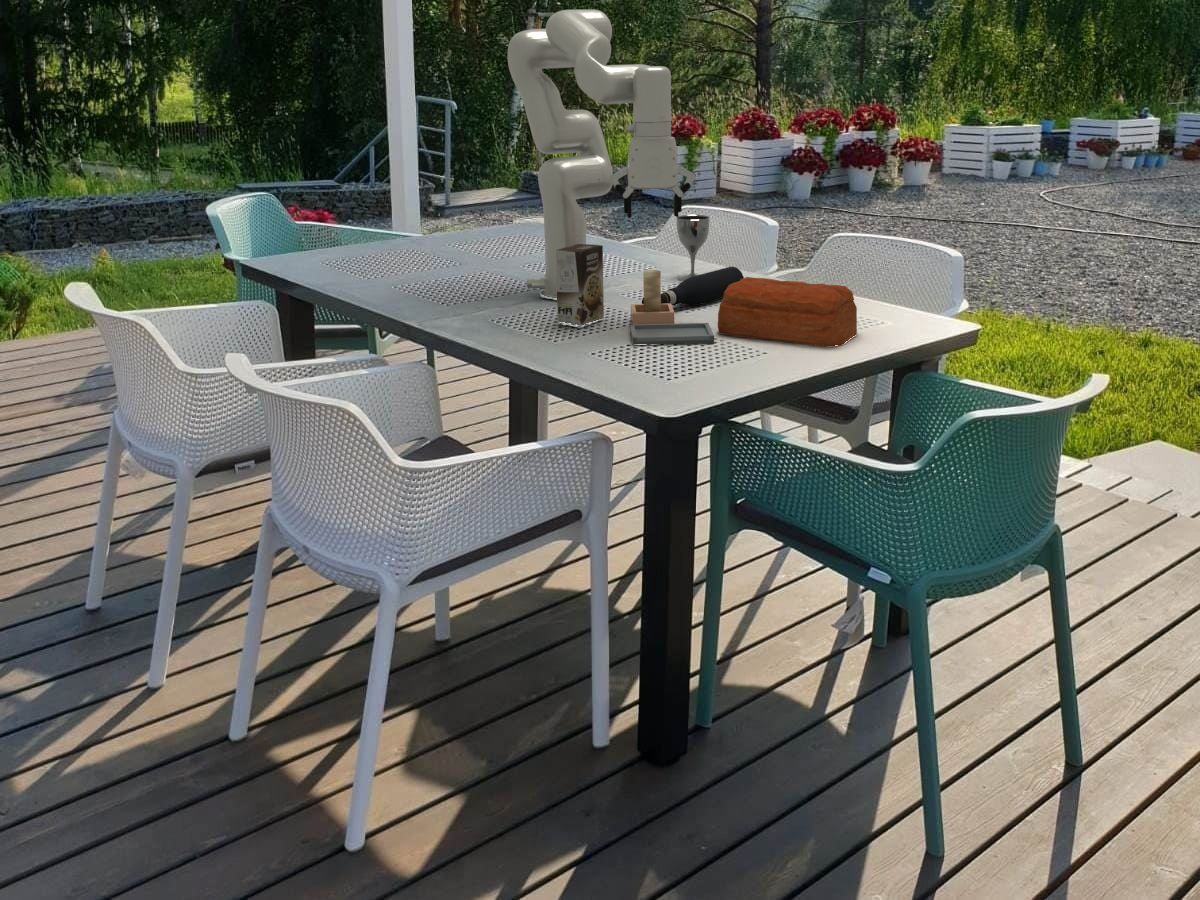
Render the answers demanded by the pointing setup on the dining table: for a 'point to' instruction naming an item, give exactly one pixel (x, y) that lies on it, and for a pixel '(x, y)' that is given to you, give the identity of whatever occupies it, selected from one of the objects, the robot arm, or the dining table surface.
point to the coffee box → (580, 284)
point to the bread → (788, 312)
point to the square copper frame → (652, 315)
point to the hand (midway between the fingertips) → (652, 216)
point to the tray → (672, 333)
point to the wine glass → (692, 236)
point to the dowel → (652, 290)
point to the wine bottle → (702, 287)
